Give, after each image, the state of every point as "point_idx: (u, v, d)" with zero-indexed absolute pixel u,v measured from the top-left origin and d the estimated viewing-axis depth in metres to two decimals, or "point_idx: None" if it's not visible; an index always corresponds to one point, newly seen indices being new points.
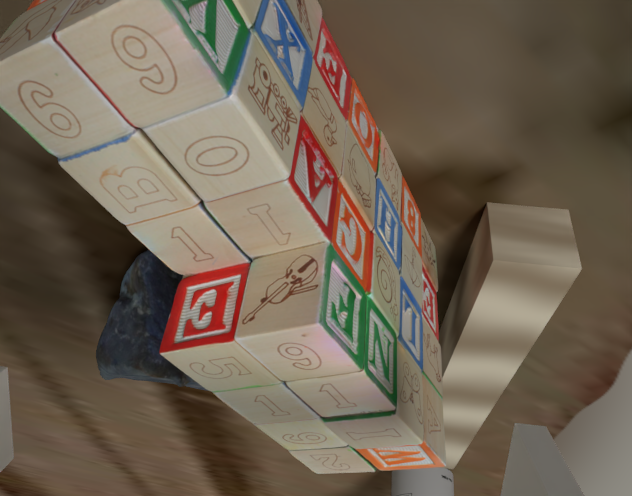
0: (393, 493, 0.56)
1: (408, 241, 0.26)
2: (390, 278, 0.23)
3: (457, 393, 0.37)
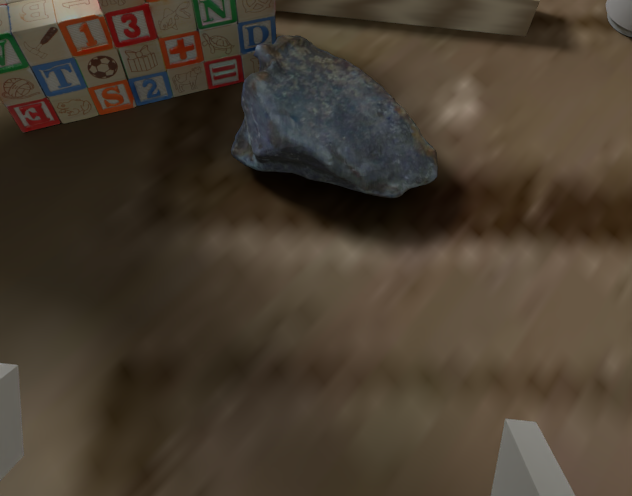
0: None
1: None
2: None
3: None
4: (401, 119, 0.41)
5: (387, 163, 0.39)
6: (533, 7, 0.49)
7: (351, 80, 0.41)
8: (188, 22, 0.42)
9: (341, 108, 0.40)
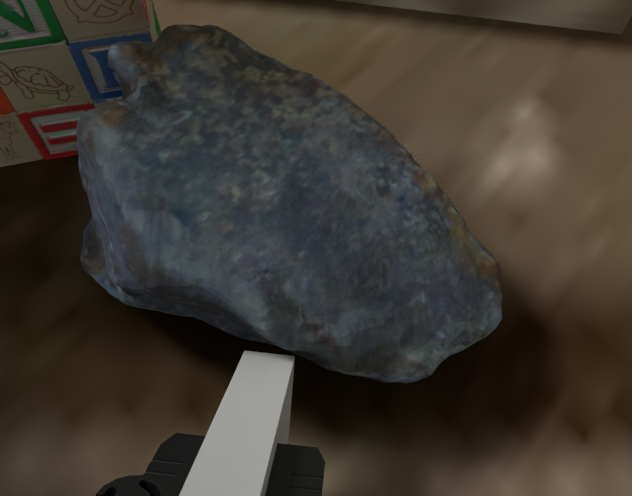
0: None
1: None
2: None
3: None
4: (427, 199, 0.20)
5: (399, 306, 0.18)
6: None
7: (322, 117, 0.20)
8: None
9: (298, 183, 0.18)
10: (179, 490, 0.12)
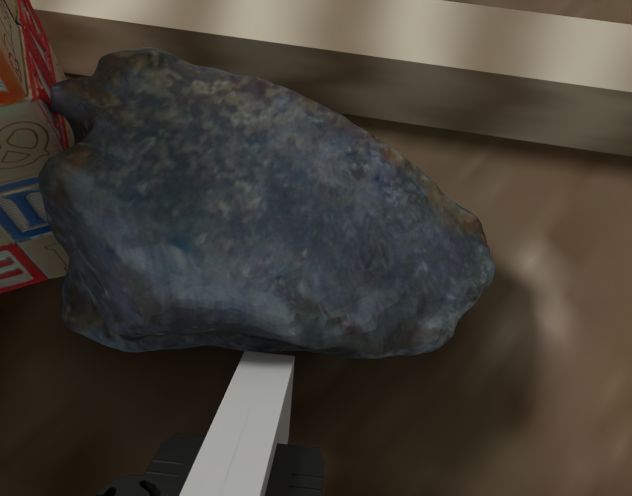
0: None
1: None
2: None
3: (340, 29, 0.24)
4: (399, 173, 0.20)
5: (407, 279, 0.18)
6: None
7: (279, 116, 0.20)
8: None
9: (279, 185, 0.18)
10: (179, 490, 0.12)
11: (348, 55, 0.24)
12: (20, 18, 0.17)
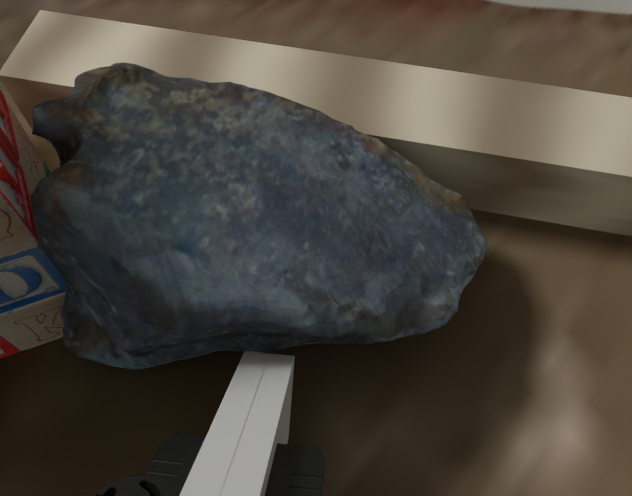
0: None
1: None
2: None
3: (343, 104, 0.23)
4: (384, 160, 0.20)
5: (407, 261, 0.18)
6: None
7: (260, 118, 0.20)
8: None
9: (271, 183, 0.18)
10: (179, 490, 0.12)
11: None
12: None
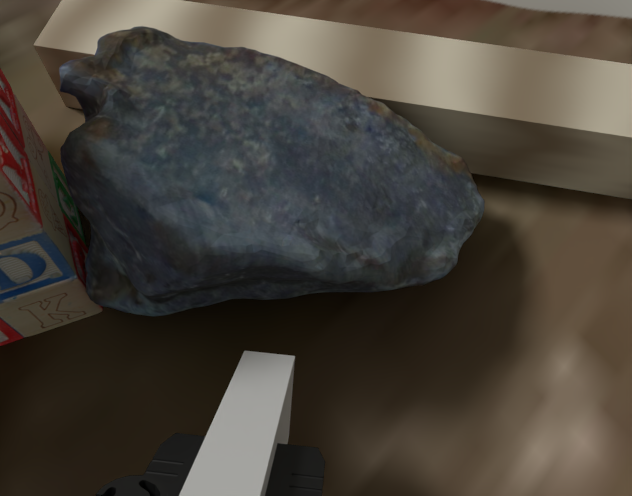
0: None
1: None
2: None
3: (367, 72, 0.23)
4: (388, 123, 0.22)
5: (410, 215, 0.20)
6: None
7: (271, 81, 0.21)
8: None
9: (283, 141, 0.19)
10: (179, 490, 0.12)
11: (375, 100, 0.23)
12: None
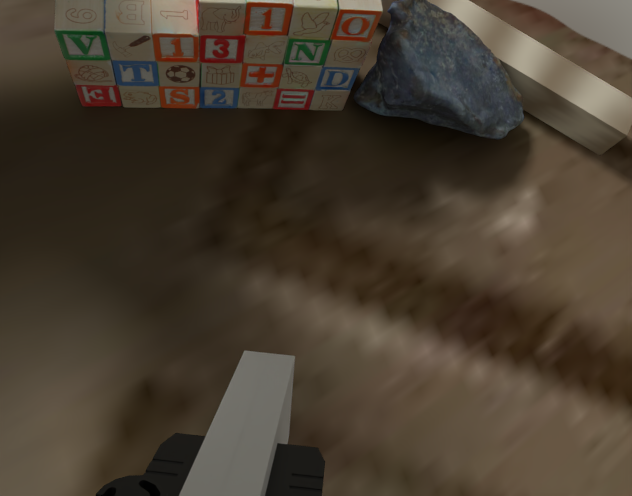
0: None
1: None
2: None
3: (492, 41, 0.50)
4: (498, 69, 0.49)
5: (495, 110, 0.47)
6: (618, 137, 0.50)
7: (458, 33, 0.48)
8: (277, 57, 0.42)
9: (459, 62, 0.46)
10: (179, 489, 0.12)
11: None
12: None
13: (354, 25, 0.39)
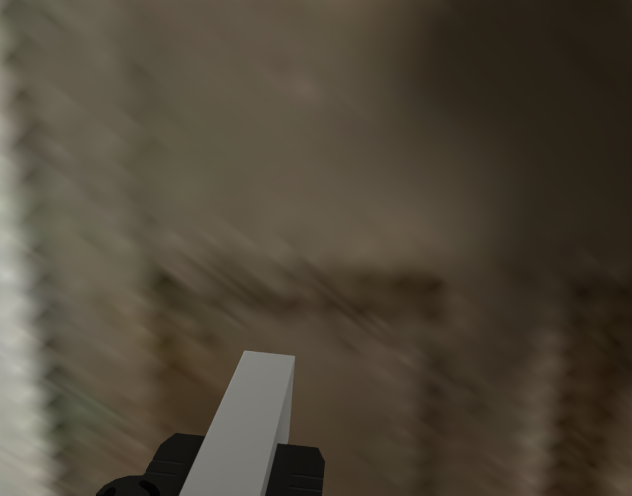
0: None
1: None
2: None
3: None
4: None
5: None
6: None
7: None
8: None
9: None
10: (179, 490, 0.12)
11: None
12: None
13: None
